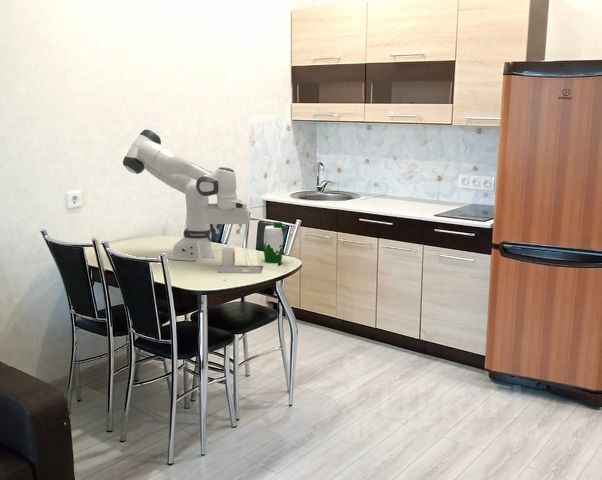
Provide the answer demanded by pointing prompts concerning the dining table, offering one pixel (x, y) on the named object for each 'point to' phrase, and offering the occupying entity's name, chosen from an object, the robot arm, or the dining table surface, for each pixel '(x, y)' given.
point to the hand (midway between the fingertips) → (227, 233)
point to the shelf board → (249, 266)
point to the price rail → (238, 269)
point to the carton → (228, 257)
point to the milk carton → (273, 243)
